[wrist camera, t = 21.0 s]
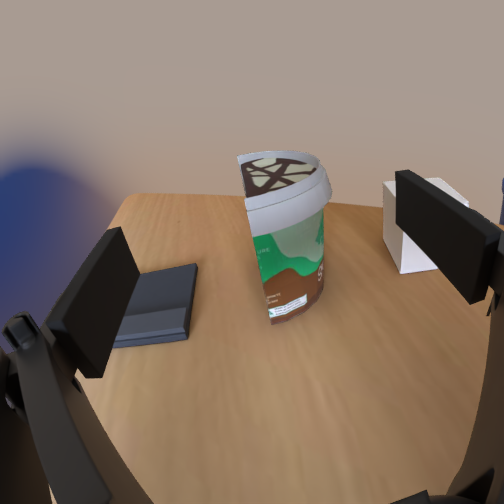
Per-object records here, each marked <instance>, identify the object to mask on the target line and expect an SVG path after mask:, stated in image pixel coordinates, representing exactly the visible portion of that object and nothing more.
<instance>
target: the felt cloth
mask: <svg viewBox="0 0 504 504" xmlns="http://www.w3.org/2000/svg"><path fill="white" fill-rule="evenodd" d="M197 269H198V267H197V264H196V263H194V264H189V265H184V266H179V267H174V268H169V269H164V270H159V271H154V272H149V273H144V274H140V277H139V279H138V281H137V284H136V286H135V289H134V291H133V294H132V296H131V299H130V301H129V304H128V307H127V309H126V312H125V314H124V317H123V320H122V323H121V325H120V328H119V331H118V333H117V336H116V339H115V342H114V345H113V348H118V347H128V346H137V345H146V344H155V343H163V342H171V341H178V340H185V339H188V331H189V324H190V317H191V309H192V302H193V295H194V289H195V282H196V275H197Z"/></svg>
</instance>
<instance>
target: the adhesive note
mask: <svg viewBox="0 0 504 504" xmlns="http://www.w3.org/2000/svg"><path fill="white" fill-rule="evenodd" d="M425 180H427V181H428V182H430V183H432V184H433V185H435V186H436V187H438V188H440V189H441V190H443V191H444V192H446V193H447V194H449V195H450V196H452V197H454V198H455V199H456V200H458V201H459V202H461V203H462V204H464V205H465V206H467V207H469V202H468V201H467V200H466V199H465V198H463V197H462V196H461V195H460V194H459V193H458V192H456V191H455V190H454V189H453V188H451V187H450V186H449V185H448V184H447V183H445V182H444V181H443V180H442V179H440V178H427V179H425ZM395 218H396V185H395V181H386V182H383V240H384V242H385V244H386V246H387V248H388V250H389V252H390V254H391V256H392V258H393V260H394V262H395V264H396V266H397V268H398V270H399V272H400V274H404V273H412V272H419V271H426V270H433V269H439V268H438V267H437V266H436V265H435V264H434V263H433V262H432V261H431V260H430V259H429V258H428V256H427V255H426V254H425V253H424V252H423V251H422V250H421V249H420V248H419V247H418V246H417V245H416V244H415V243H414V242H413V241H412V240H411V239H410V238H409V237H408V236H407V235H406V234H405V233H404V232H403V231H402V230H401V229H400V228H399V227H398V226H397V225H396V224H395Z"/></svg>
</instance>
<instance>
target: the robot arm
mask: <svg viewBox="0 0 504 504" xmlns="http://www.w3.org/2000/svg"><path fill="white" fill-rule="evenodd" d="M395 185H396V218H395V224H396V225H397V226H398V227H399V228H400V229H401V230H402V231H403V232H404V233H405V234H406V235H407V236H408V237H409V238H410V239H411V240H412V241H413V242H414V243H415V244H416V245H417V246H418V247H419V248H420V249H421V250H422V251H423V252H424V253H425V254H426V255H427V256H428V258H429V259H430V260H431V261H432V262H433V263H434V264H435V265H436V266H437V267H438V268H439V270H440V271H441V272H442V273H443V274H444V275H445V276H446V277H447V278H448V280H449V281H450V282H451V283H452V284H453V285H454V287H455V288H456V289H457V290H458V291H459V292H460V294H461V295H462V296H463V297H464V298H465V300H466V301H467V302H468V303H469V304H470V305H471V304H474V303H476V302H479V301H482V300H484V299H485V296H486V293H487V290H488V286H490V287H491V288H492V289H493V290H494V294H493V297H492V301H491V304H490V307H489V309H488V312H487V315H486V316H489V315H490V312H491V324H490V336H489V346H488V354H487V362H486V369H485V375H484V381H483V387H482V392H481V397H480V402H479V407H478V411H477V416H476V420H475V424H474V428H473V431H472V435H471V439H470V442H469V446H468V449H467V452H466V455H465V458H464V461H463V464H462V466H461V468H460V470H459V472H458V473H457V475H456V476H455V478H454V480H453V482H452V483H451V485H450V487H449V489H448V492H447V494H446V495H435V496H429V495H428V492H427V490H424V491H422V492H419V493H417V494H415V495H412V496H409V497H407V498H404V499H401V500H399V501H396V502H393V503H390V504H504V231H503V230H501V229H500V228H499V227H497V226H496V225H495V224H493V223H492V222H491V223H490V221H489V220H488V219H486V218H484V216H482V215H481V214H480V213H478V212H477V211H475V210H472V209H470V208H468V207H467V206H465V205H464V204H462V203H461V202H459V201H458V200H456V199H455V198H454V197H452V196H450V195H449V194H447V193H446V192H444V191H443V190H441V189H440V188H438V187H436V186H435V185H433V184H432V183H430V182H428V181H427V180H425V179H424V178H422V177H420V176H419V175H417V174H415V173H413V172H412V171H410V170H402V171H396V172H395ZM139 277H140V272H139V270H138V268H137V265H136V263H135V261H134V258H133V256H132V254H131V251H130V249H129V246H128V244H127V241H126V239H125V236H124V234H123V231H122V229H121V226H120V227H116V228H112V229H109V230H107V231H106V232H105V233H104V235H103V236H102V237H101V239H100V240H99V242H98V243H97V244H96V246H95V247H94V248H93V250H92V251H91V253H90V254H89V255H88V257H87V258H86V260H85V261H84V263H83V264H82V266H81V267H80V268H79V270H78V271H77V273H76V274H75V276H74V278H73V279H72V280H71V282H70V284H69V285H68V287H67V288H66V290H65V291H64V292H63V293H62V294H61V295H60V296H59V298H58V299H57V301H56V303H55V305H54V306H53V307H52V309H51V311H50V312H49V314H48V316H47V317H46V319H45V320H44V322H43V324H42V326H41V328H40V329H39V328H38V326H37V325H36V323H35V322H34V320H33V319H32V317H31V316H30V314H29V313H28V312H26V311H23V312H20V313H18V314H16V315H14V316H13V317H12V318H10V319H9V320H8V321H7V323H6V324H5V325H4V327H3V329H2V334H3V336H4V337H5V339H6V340H7V341H8V343H9V344H10V345H11V347H12V348H13V349H14V352H11V353H9V354H6V353H5V352H4V350H3V349H2V348H1V346H0V504H52V500H51V495H50V489H49V485H50V488H51V490H52V493H53V495H54V497H55V500H56V502H57V504H154V503H153V502H152V501H151V499H150V498H149V497H148V495H147V494H146V493H145V491H144V490H143V489H142V487H141V486H140V485H139V483H138V482H137V480H136V479H135V477H134V476H133V475H132V473H131V472H130V470H129V469H128V467H127V466H126V464H125V463H124V461H123V460H122V458H121V456H120V455H119V453H118V452H117V450H116V449H115V447H114V445H113V444H112V442H111V440H110V439H109V437H108V435H107V433H106V432H105V430H104V428H103V427H102V425H101V423H100V421H99V419H98V417H97V416H96V414H95V412H94V410H93V408H92V406H91V404H90V402H89V400H88V398H87V396H86V394H85V392H84V390H83V388H82V386H81V384H80V382H79V381H78V380H77V378H76V377H75V373H76V370H77V368H78V369H79V370H80V372H81V373H82V374H83V375H84V377H85V378H103V374H104V371H105V368H106V365H107V362H108V359H109V356H110V353H111V350H112V348H113V345H114V342H115V339H116V336H117V333H118V331H119V328H120V325H121V323H122V320H123V317H124V314H125V312H126V309H127V307H128V304H129V301H130V299H131V296H132V294H133V291H134V289H135V286H136V284H137V281H138V279H139ZM5 397H6V398H7V399H8V400H9V401H10V402H11V403H12V406H11V408H10V407H9V405H8V404H7V401H6V399H5Z"/></svg>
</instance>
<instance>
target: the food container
mask: <svg viewBox="0 0 504 504" xmlns="http://www.w3.org/2000/svg"><path fill="white" fill-rule="evenodd" d="M237 157H238V162H239V167H240V172H241V176H242V181H243V186H244V191H245V195H246V198H245V199H244V200H245V205H246V209H247V214H248V219H249V224H250V229H251V233H252V237H253V242H254V246H255V251H256V256H257V260H258V265H259V269H260V274H261V279H262V283H263V288H264V293H265V297H266V302H267V307H268V311H269V316H270V321H271V325H273V324H277V323H281V322H284V321H287V320H289V319H291V318H293V317H295V316H297V315H299V314H301V313H303V312H305V311H306V310H307V309H308V308H309V307H310V306H312V305H313V304H314V303H315V302H316V301H317V300H318V298H319V296H320V294H321V292H322V290H323V264H324V224H323V207H324V206H325V205H326V204H327V203H328V201H329V200H330V198H331V195H332V189H331V185H330V183H329V179H328V176H327V173H326V170H325V168H324V167H323V166H322V165H321V164H320V160H319V159H318V158H317V157H315V156H314V155H311V154H308V153H304V152H298V151H264V152H255V153H250V154H243V155H238V156H237Z"/></svg>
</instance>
